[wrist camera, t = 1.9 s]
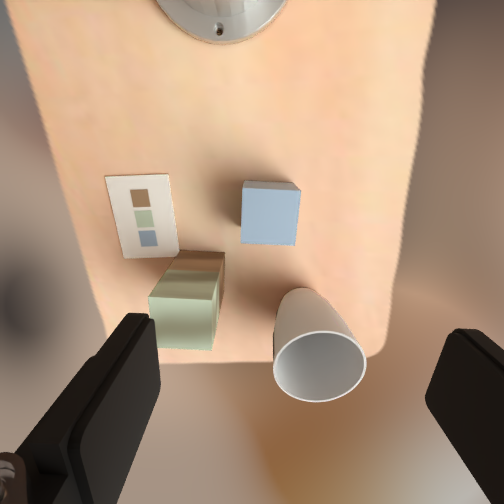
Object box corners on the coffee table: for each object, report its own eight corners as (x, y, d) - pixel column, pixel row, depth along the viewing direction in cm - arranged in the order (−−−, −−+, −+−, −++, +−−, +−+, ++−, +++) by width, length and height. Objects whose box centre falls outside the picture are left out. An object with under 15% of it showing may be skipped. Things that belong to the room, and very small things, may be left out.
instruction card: (105, 176, 28) (104, 176, 27) (168, 173, 27) (167, 174, 27) (124, 257, 31) (123, 258, 31) (180, 256, 31) (179, 257, 31)
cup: (256, 293, 33) (257, 352, 23) (319, 264, 31) (347, 316, 22) (285, 341, 35) (296, 412, 26) (344, 317, 34) (378, 383, 24)
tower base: (180, 250, 31) (147, 296, 21) (224, 252, 31) (211, 300, 21) (182, 289, 32) (153, 347, 23) (224, 291, 33) (211, 350, 23)
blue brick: (244, 180, 28) (242, 187, 23) (293, 182, 28) (301, 190, 23) (242, 227, 30) (240, 243, 25) (288, 229, 30) (294, 245, 25)
